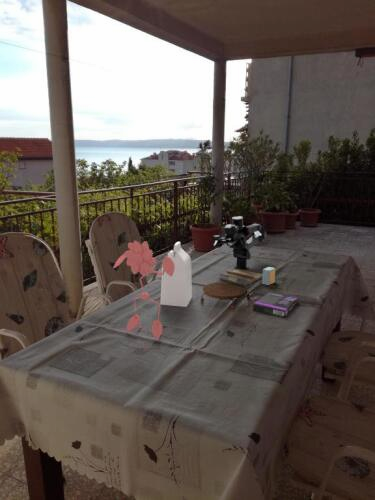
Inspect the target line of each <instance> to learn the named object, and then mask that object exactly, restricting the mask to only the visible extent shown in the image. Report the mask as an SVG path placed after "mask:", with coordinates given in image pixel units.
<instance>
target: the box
mask: <svg viewBox="0 0 375 500" xmlns="http://www.w3.org/2000/svg"><path fill="white" fill-rule="evenodd" d="M297 301H298V302H299V297H297V296H293V295H288V294H282V293H279V292H278V293H277V292H273V291H270V290H269V291H267V292H266V293H264V294H263V295H262V296H261V297H259V298H258V299H257V300H256V301H254V302H253V304H252V310H253V311H256V312H261V313H264V312H265V314H269V313H271V314H270V315H273V314H277V315H282V316H285V315H286V314H287V313H288V312H289V311H290V310H291V308H292V307H293V306H294V305H295V304H296V302H297ZM296 305H297V304H296ZM296 305H295V306H296ZM295 306H294V307H295ZM294 307H293V308H294ZM291 311H292V310H291ZM291 311H290V312H291ZM290 312H289V313H290ZM289 313H288V314H289ZM288 314H287V315H288ZM277 315H276V316H277ZM287 315H286V316H287ZM282 316H281V317H282ZM286 316H285V317H286Z"/></svg>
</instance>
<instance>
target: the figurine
mask: <svg viewBox="0 0 375 500" xmlns="http://www.w3.org/2000/svg"><path fill="white" fill-rule="evenodd" d="M127 247H128V250H126V251H124V253H123V254H122V255H120V257H118V259H117V260H116V261H115V263H114V265H113V269H116V268H117V267H118V266H120V265H121V264H122V263H123V262H124V261H125V259H126V265H127V266H128V267H130V270H131V272H132V274H133V275H137V274H138V273H140V275H141V277H139V282H140V286H141V289H142V293H141V295H140V296H138V297H135V298H134V299H133V300H134V301H133V303H134V305H133V306H134V315H133V316H132V317H130V319H129V320H128V323H126V325H127V328H126V333H129V332H131V331H133V330H134V329H135V328H136V327H137V326H139V328H140V329H142V325H141V323H140V316H139V315H138V314H137V310H136V300H137V299H142V300H143V301H151V302H153V303H155V304H157V305H159V307H158V314H157V319H156V320H154V322H153V324H152V326H151V332H152V334H153V337H154V338H155V339H156V340H157V341H158V340H159V338H160V337H161V336H162V334H163V324H162V322H161V321H160V320H159V319H160V314H161V313H160V312H161V308H162V307H161V306H162V305H161V304H160V303H159V302H157V301H155V300H153V299H151V298H150V295H149V293H147V292H145V289H144V285H143V281H142V280H143V278H144V277H146V276H147V274H152V273H155V274H158V275H161V276H162V275H164V272H166V273H167V274H168V275H170V276H171V277H172V275H173V273H174V270H175V266H174V263H173V261H172V260H171V258H169V257H168V255H165V256H164V258H163V259H162V263H163V264H161V266H162V265H163V273H162V272H160V271H156V270H153V266H155V265H156V264H157V263H158V261H157V259H156V258H154V257H153V255H154V253H153V250H152V249H150V247H149V243H148V242H147V241H143V242H142V243H140V242H139V241H137V240H133V242H128V243H127ZM119 342H120V344H121V345H123V346H126V347H127V348H130V349H131V348H132V349H135V347H134V346H129V345H126V344H124V343H122V342H121V341H119ZM157 348H160V347H159V346H158V347H156V349H157ZM136 349H140V350H147V348H142V347H141V348H140V347H136ZM151 349H154V347H152V348H151V347H150V348H148V350H151Z"/></svg>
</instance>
